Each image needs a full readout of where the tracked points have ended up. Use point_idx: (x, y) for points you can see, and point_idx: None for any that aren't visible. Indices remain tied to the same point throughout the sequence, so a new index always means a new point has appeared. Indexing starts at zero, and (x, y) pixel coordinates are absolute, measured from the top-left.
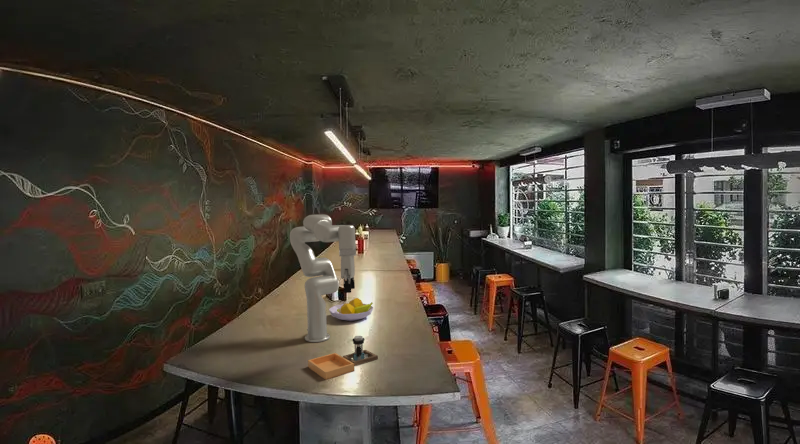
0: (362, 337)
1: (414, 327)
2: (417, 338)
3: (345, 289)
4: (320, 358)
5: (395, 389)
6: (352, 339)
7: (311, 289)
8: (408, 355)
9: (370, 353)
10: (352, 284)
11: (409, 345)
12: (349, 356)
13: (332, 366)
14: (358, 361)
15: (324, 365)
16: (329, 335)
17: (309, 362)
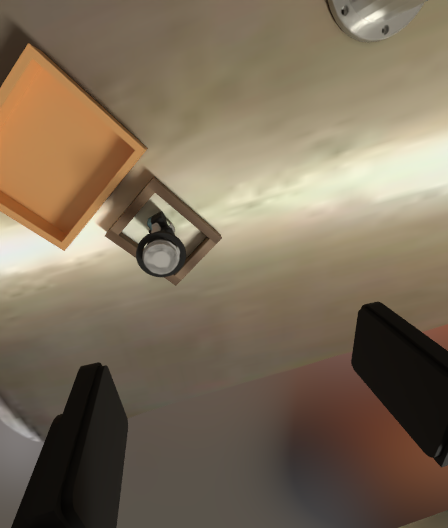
0: (166, 272)
1: (416, 311)
2: (330, 334)
3: (51, 433)
4: (79, 99)
5: (3, 360)
6: (155, 233)
7: None
8: (213, 341)
9: (191, 261)
10: (388, 392)
11: (281, 328)
12: (164, 199)
13: (71, 162)
14: (118, 244)
15: (69, 126)
16: (383, 37)
17: (22, 58)
